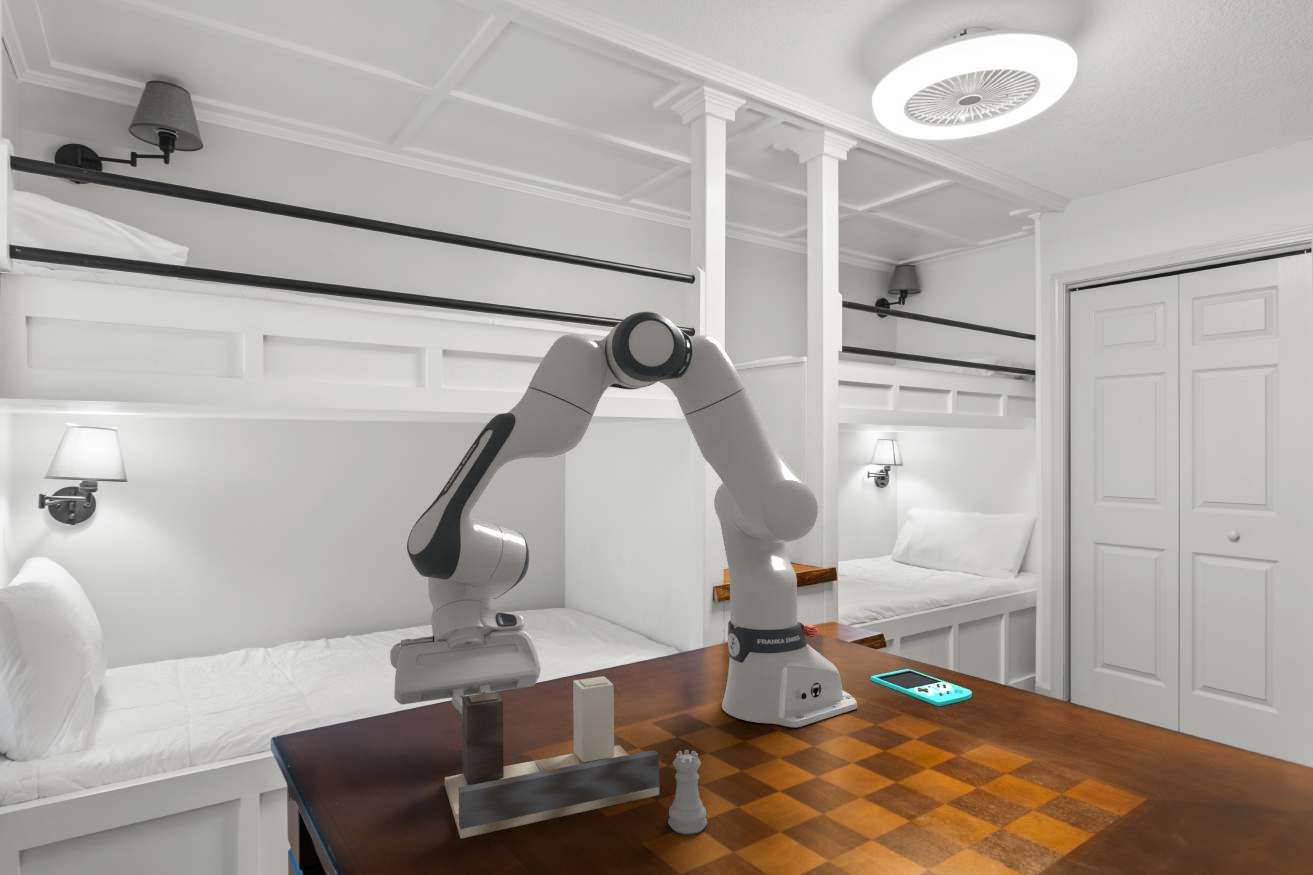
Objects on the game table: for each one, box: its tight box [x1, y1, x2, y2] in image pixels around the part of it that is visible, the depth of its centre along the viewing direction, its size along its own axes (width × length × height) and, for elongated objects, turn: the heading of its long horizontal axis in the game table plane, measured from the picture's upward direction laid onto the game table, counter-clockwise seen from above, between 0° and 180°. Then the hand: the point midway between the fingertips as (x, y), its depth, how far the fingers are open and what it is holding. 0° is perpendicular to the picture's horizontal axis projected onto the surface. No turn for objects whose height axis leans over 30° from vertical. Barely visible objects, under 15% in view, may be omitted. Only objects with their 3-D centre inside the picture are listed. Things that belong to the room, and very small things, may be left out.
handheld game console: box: [870, 668, 973, 707], centre depth 127 cm, size 10×16×1 cm, turn 27°
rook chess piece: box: [667, 749, 708, 836], centre depth 80 cm, size 4×4×8 cm
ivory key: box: [572, 675, 615, 763], centre depth 97 cm, size 4×4×10 cm
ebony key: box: [461, 691, 505, 785], centre depth 91 cm, size 4×4×10 cm
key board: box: [444, 744, 660, 839], centre depth 89 cm, size 24×14×5 cm, turn 114°
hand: (474, 721), depth 97 cm, fingers closed
